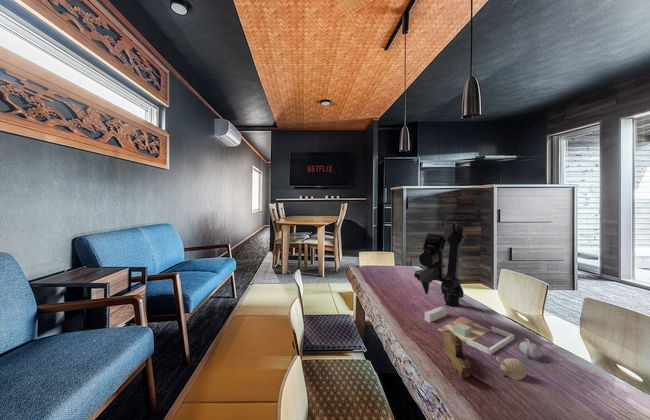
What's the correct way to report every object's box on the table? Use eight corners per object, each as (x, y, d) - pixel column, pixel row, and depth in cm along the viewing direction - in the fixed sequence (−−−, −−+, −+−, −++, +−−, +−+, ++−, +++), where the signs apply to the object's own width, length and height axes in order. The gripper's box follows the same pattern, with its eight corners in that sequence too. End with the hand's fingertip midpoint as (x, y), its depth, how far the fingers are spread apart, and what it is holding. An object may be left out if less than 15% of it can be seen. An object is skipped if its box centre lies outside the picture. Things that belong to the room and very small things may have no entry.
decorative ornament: (530, 381, 74) (530, 363, 74) (498, 377, 76) (498, 360, 75) (522, 372, 78) (522, 355, 78) (492, 368, 80) (492, 352, 79)
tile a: (462, 322, 107) (462, 316, 107) (472, 326, 103) (473, 320, 103) (455, 325, 104) (455, 319, 104) (466, 329, 101) (466, 323, 101)
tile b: (459, 328, 102) (459, 322, 101) (471, 333, 98) (471, 327, 98) (453, 331, 99) (453, 325, 99) (464, 337, 95) (464, 330, 95)
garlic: (516, 349, 90) (516, 334, 90) (536, 352, 88) (536, 338, 87) (521, 358, 84) (521, 343, 84) (542, 362, 82) (542, 347, 82)
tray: (491, 333, 100) (491, 326, 100) (514, 342, 94) (514, 334, 94) (466, 347, 91) (466, 339, 91) (490, 359, 84) (490, 350, 84)
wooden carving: (477, 384, 73) (478, 350, 73) (461, 384, 73) (462, 350, 73) (450, 350, 89) (450, 323, 89) (437, 350, 89) (437, 323, 89)
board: (461, 321, 110) (461, 318, 110) (490, 333, 100) (490, 330, 100) (437, 332, 102) (437, 329, 101) (467, 347, 91) (467, 343, 91)
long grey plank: (441, 317, 116) (441, 306, 116) (446, 319, 114) (446, 308, 113) (424, 323, 109) (424, 312, 109) (429, 326, 107) (429, 314, 107)
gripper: (406, 260, 114) (406, 294, 115) (444, 269, 99) (444, 309, 99) (422, 257, 120) (422, 289, 121) (460, 265, 104) (460, 302, 105)
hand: (435, 297), depth 111 cm, fingers open, 9 cm apart
